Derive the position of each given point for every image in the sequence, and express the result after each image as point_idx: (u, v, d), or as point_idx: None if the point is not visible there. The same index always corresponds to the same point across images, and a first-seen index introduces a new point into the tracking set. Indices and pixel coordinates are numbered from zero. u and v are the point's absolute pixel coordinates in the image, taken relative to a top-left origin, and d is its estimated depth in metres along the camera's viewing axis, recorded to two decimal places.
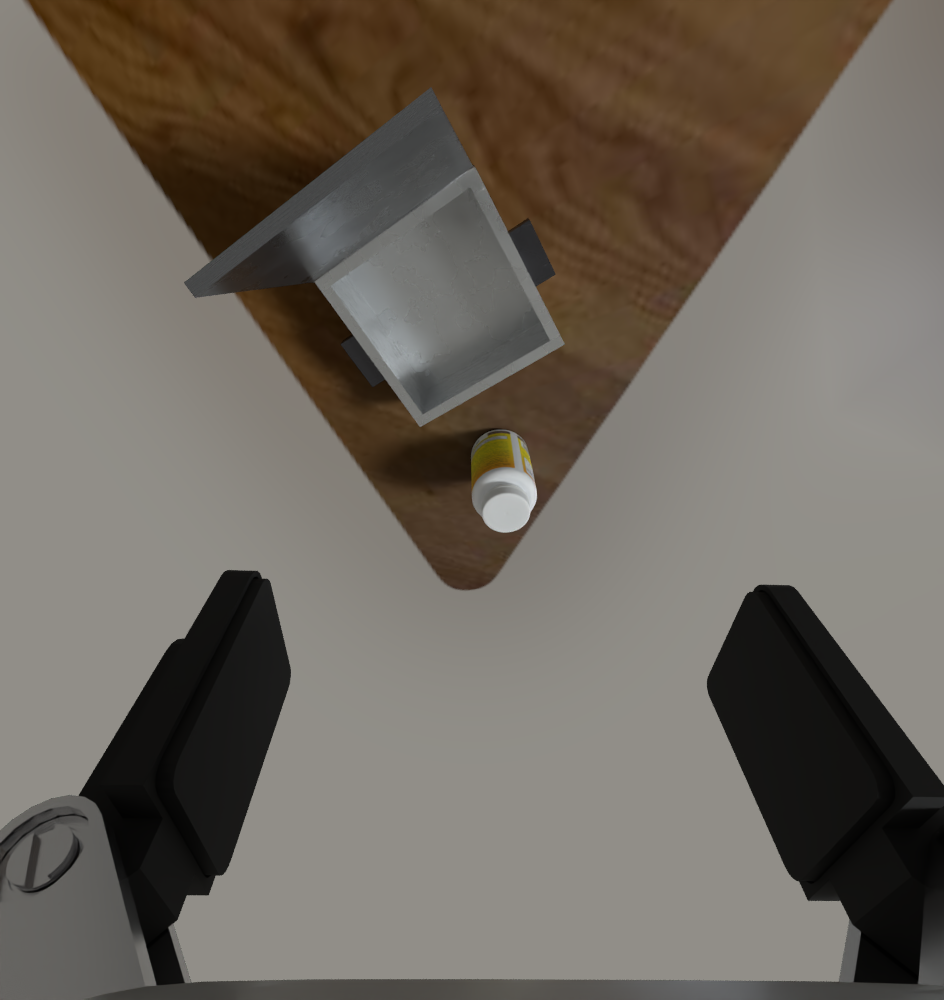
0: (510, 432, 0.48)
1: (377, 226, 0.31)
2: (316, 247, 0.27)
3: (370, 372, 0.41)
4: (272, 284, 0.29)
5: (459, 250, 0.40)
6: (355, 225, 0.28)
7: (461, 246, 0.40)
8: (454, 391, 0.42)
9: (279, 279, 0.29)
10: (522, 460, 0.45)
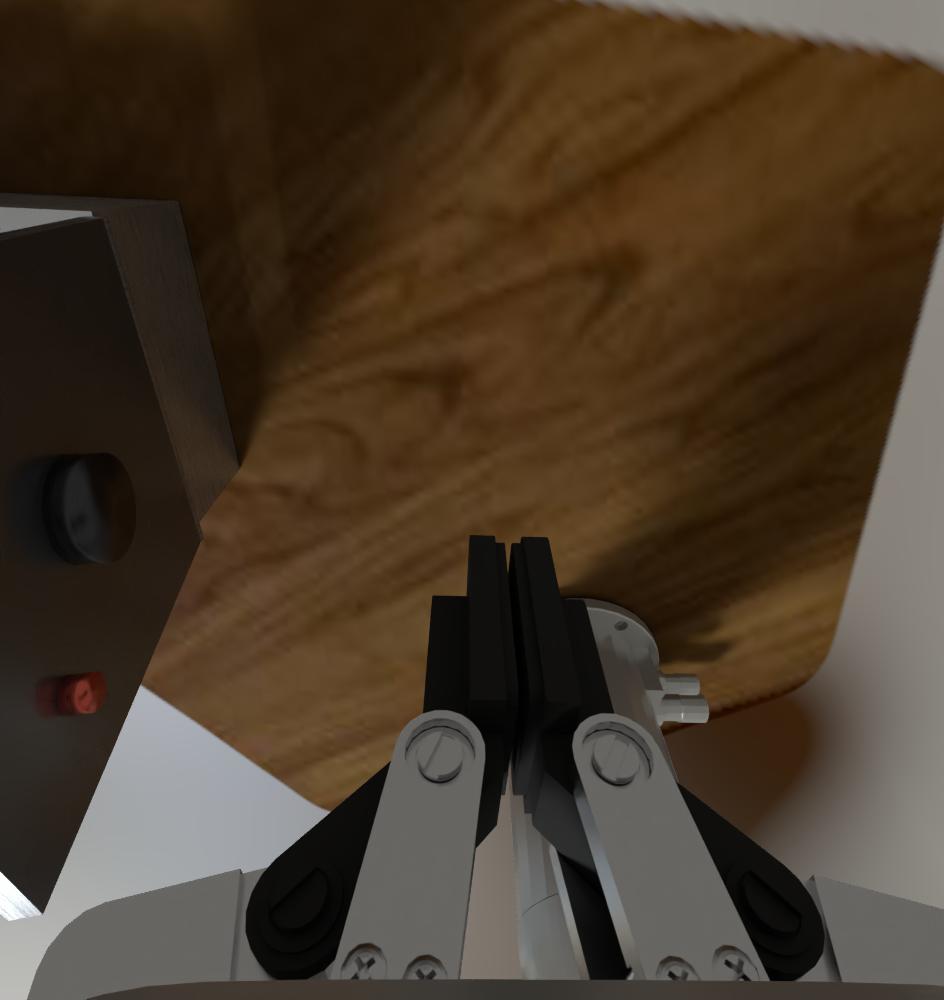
0: None
1: None
2: None
3: None
4: None
5: None
6: None
7: None
8: None
9: None
10: None
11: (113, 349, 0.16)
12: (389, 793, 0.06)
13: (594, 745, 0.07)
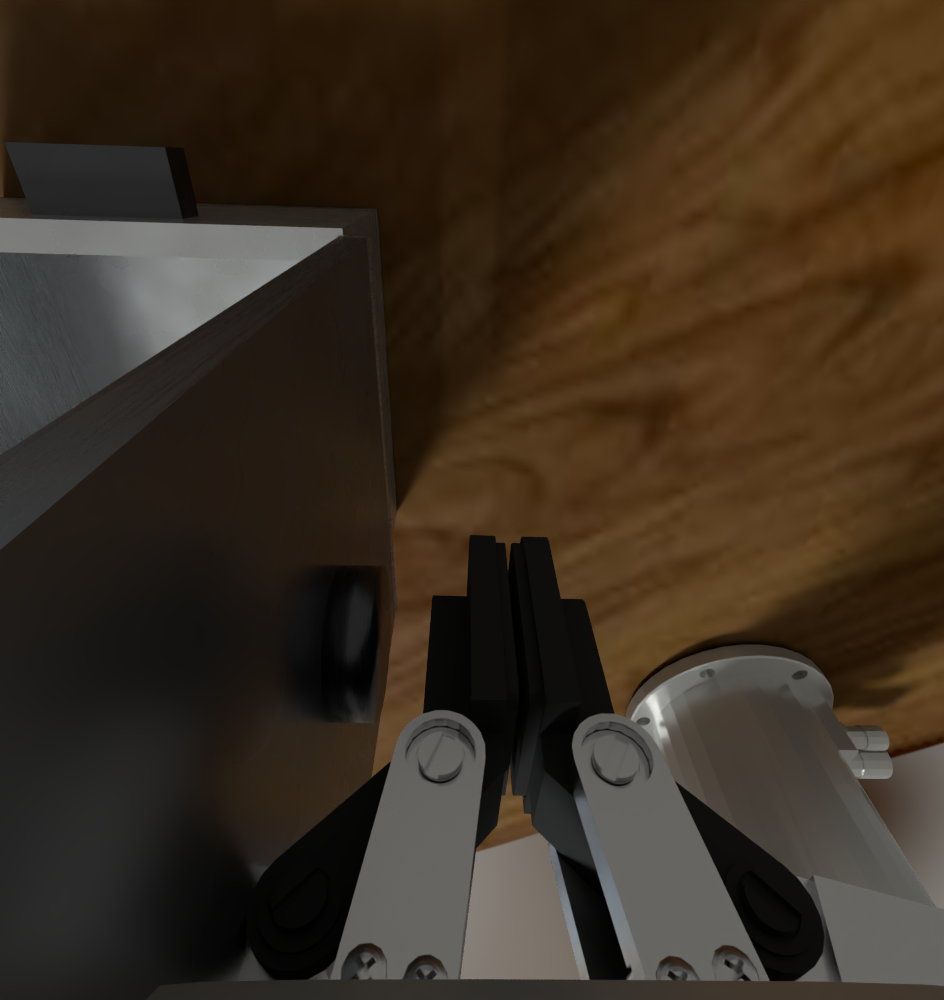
0: None
1: None
2: None
3: (56, 171, 0.13)
4: None
5: None
6: None
7: None
8: None
9: None
10: None
11: (365, 408, 0.13)
12: (390, 793, 0.06)
13: (594, 745, 0.07)
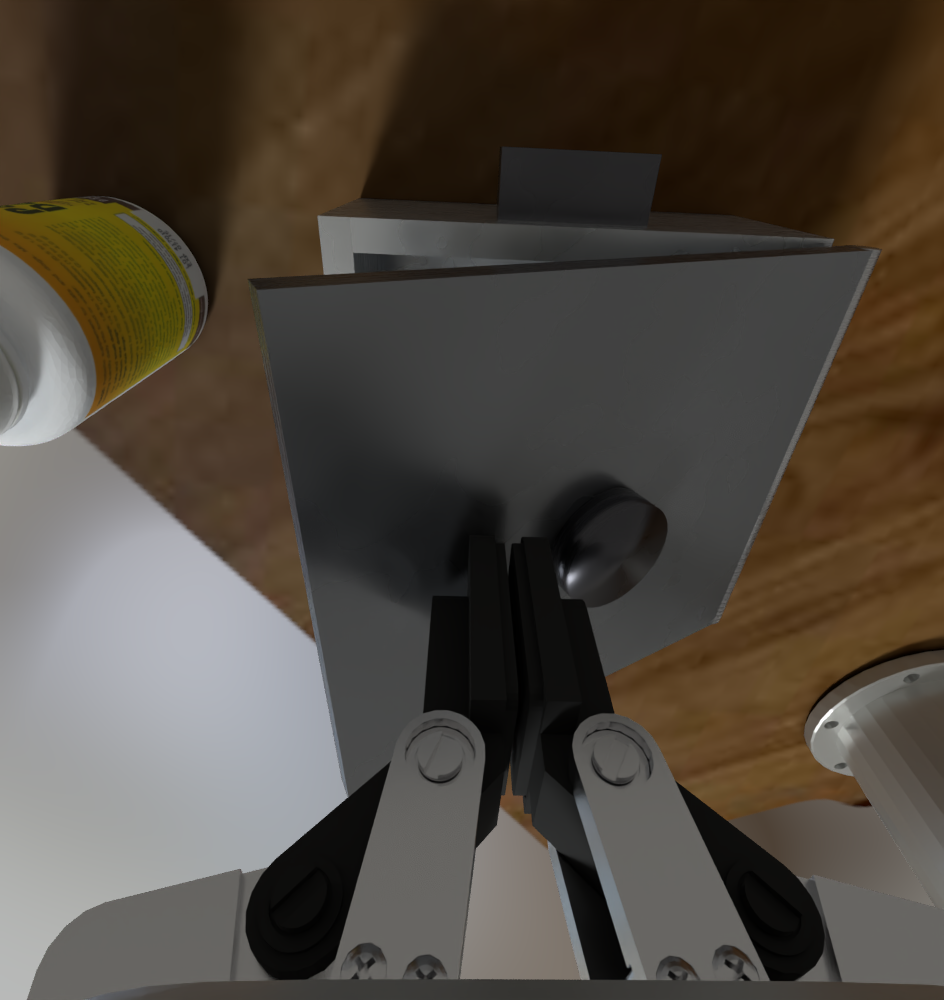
0: (189, 346, 0.20)
1: None
2: None
3: (541, 176, 0.13)
4: None
5: None
6: None
7: None
8: None
9: None
10: None
11: (763, 402, 0.13)
12: (389, 793, 0.06)
13: (594, 745, 0.07)
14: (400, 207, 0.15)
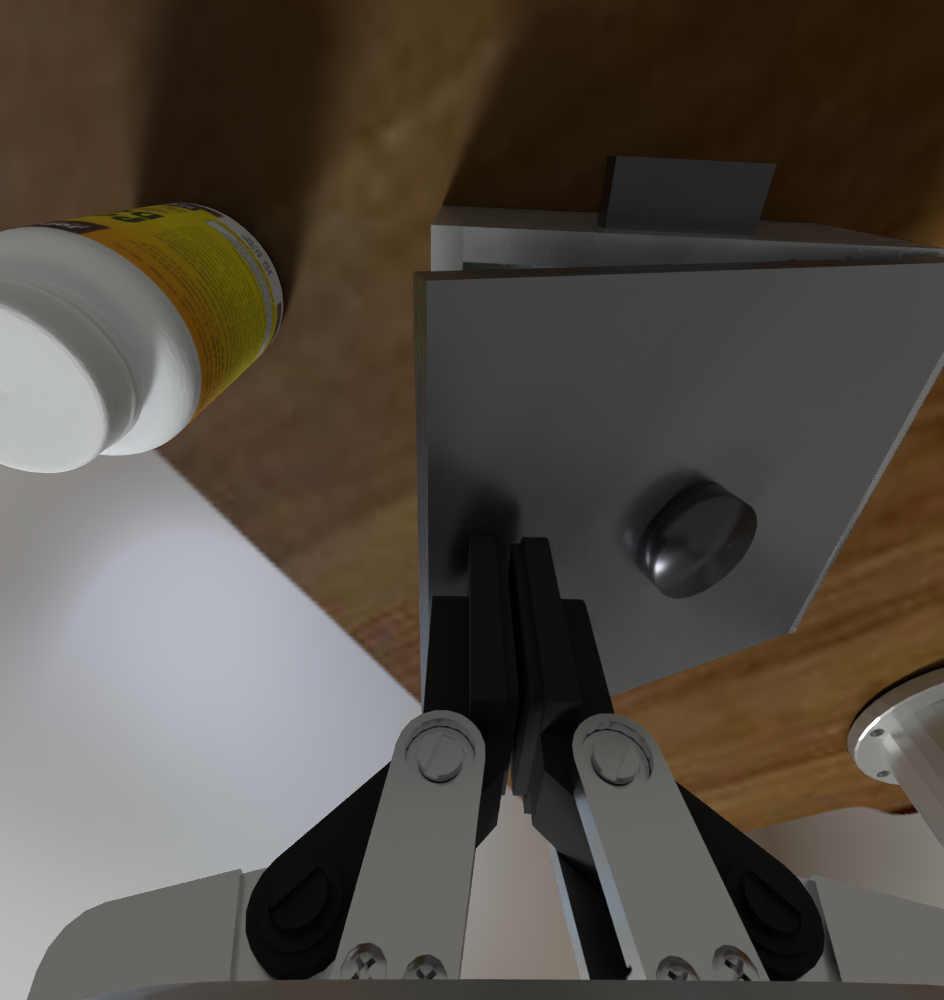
0: None
1: None
2: None
3: (653, 186, 0.13)
4: None
5: None
6: None
7: None
8: None
9: None
10: None
11: (863, 410, 0.13)
12: (389, 793, 0.06)
13: (594, 745, 0.07)
14: (494, 215, 0.15)
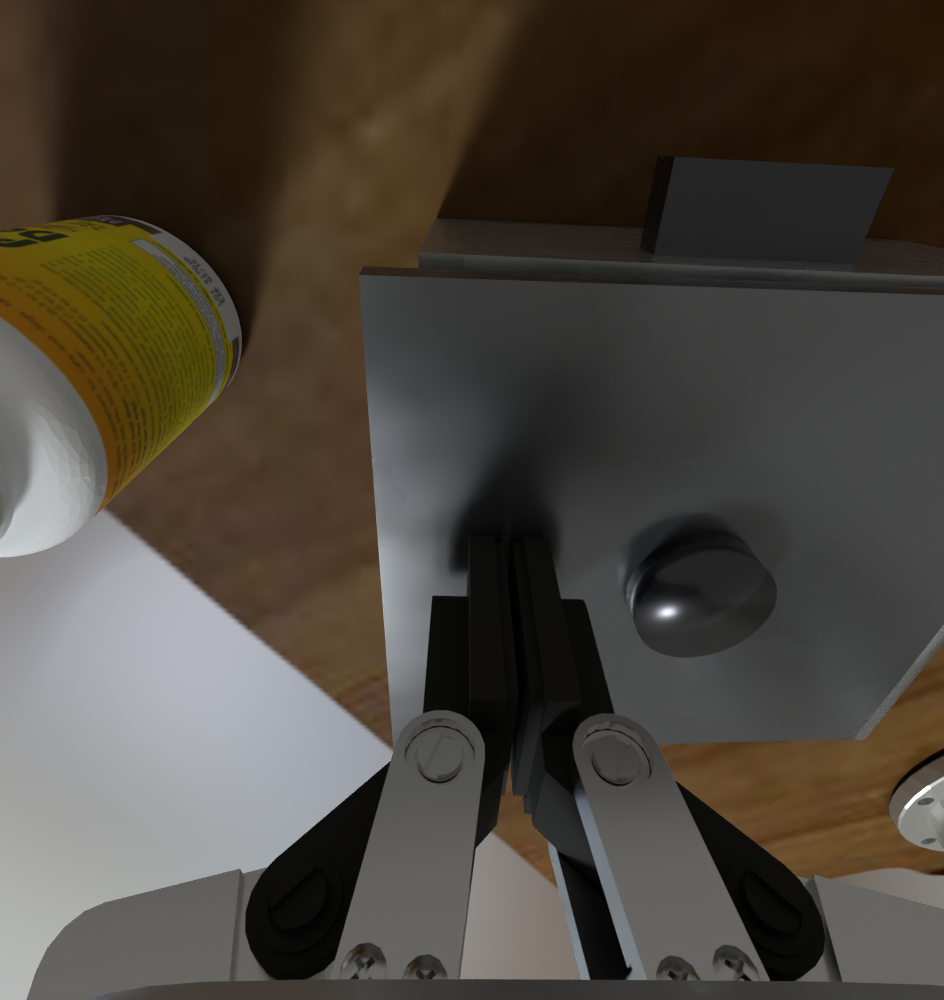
0: None
1: None
2: None
3: (723, 198, 0.10)
4: None
5: None
6: None
7: None
8: None
9: None
10: None
11: None
12: (389, 793, 0.06)
13: (594, 745, 0.07)
14: (503, 233, 0.12)
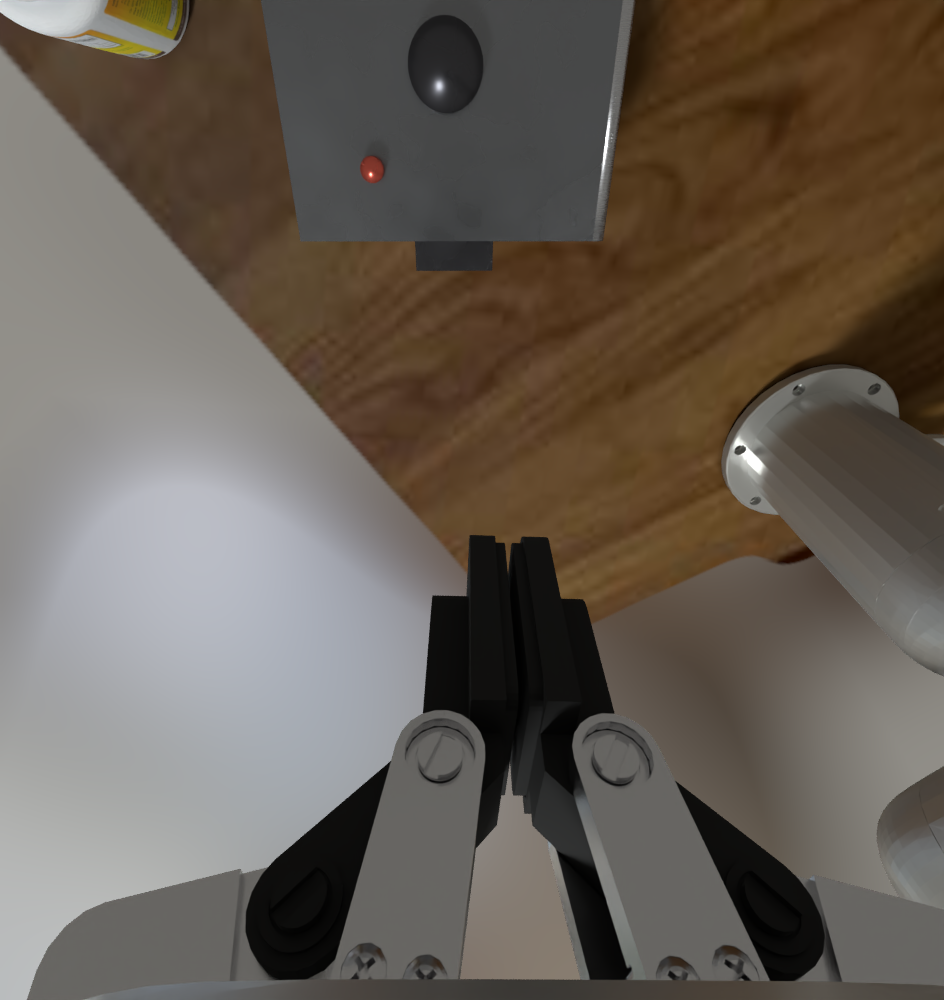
0: (176, 42, 0.25)
1: None
2: None
3: None
4: None
5: None
6: None
7: None
8: None
9: None
10: (114, 37, 0.21)
11: None
12: (389, 793, 0.06)
13: (594, 745, 0.07)
14: None
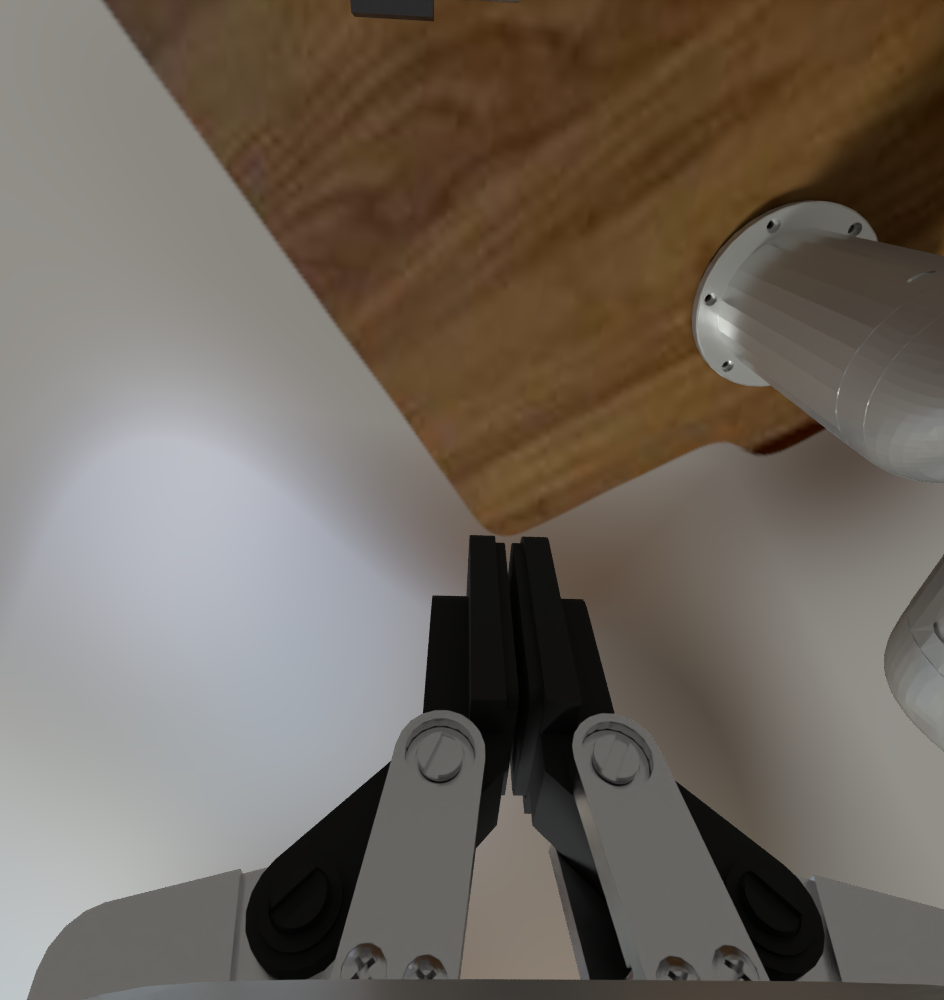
0: None
1: None
2: None
3: None
4: None
5: None
6: None
7: None
8: None
9: None
10: None
11: None
12: (389, 793, 0.06)
13: (594, 745, 0.07)
14: None
